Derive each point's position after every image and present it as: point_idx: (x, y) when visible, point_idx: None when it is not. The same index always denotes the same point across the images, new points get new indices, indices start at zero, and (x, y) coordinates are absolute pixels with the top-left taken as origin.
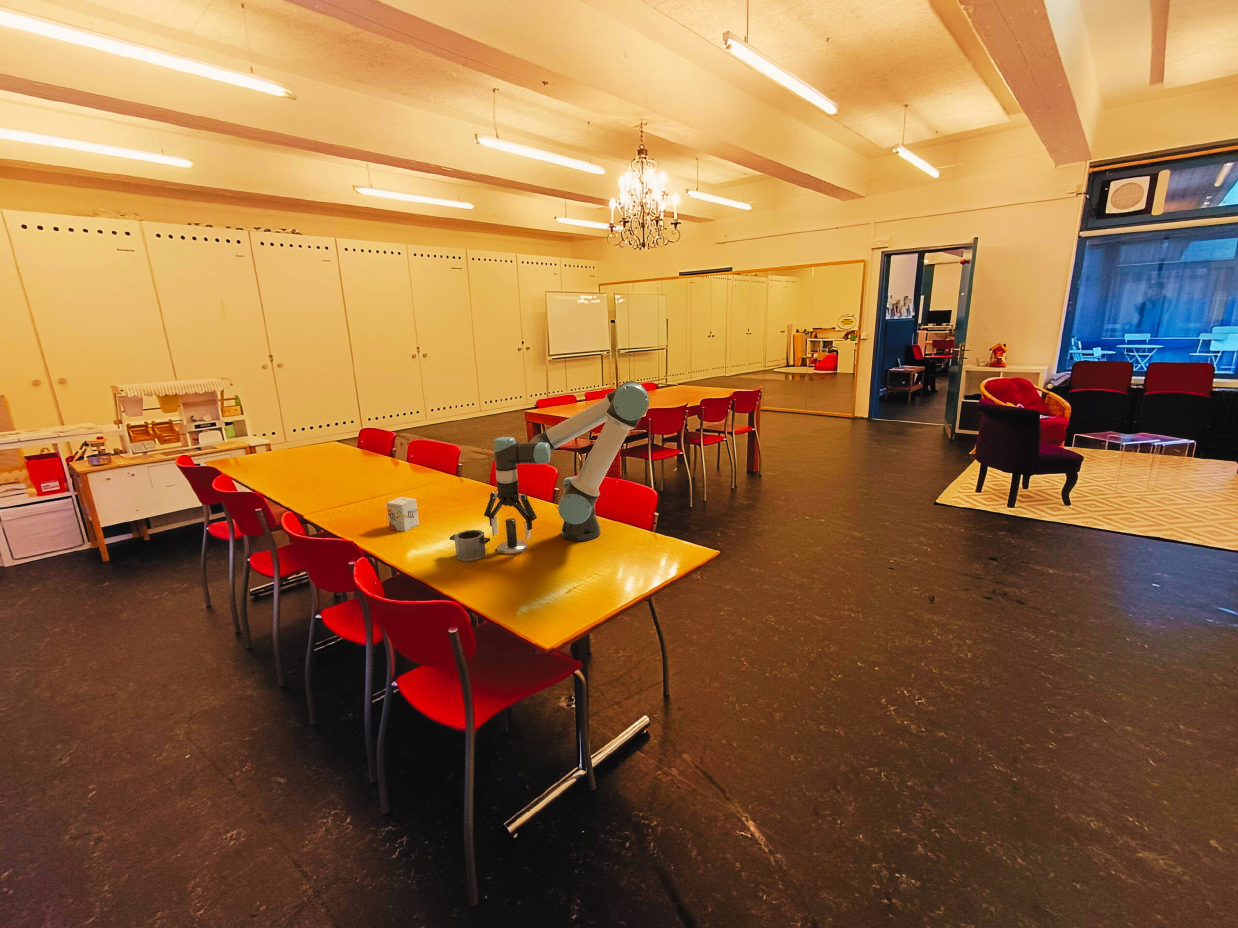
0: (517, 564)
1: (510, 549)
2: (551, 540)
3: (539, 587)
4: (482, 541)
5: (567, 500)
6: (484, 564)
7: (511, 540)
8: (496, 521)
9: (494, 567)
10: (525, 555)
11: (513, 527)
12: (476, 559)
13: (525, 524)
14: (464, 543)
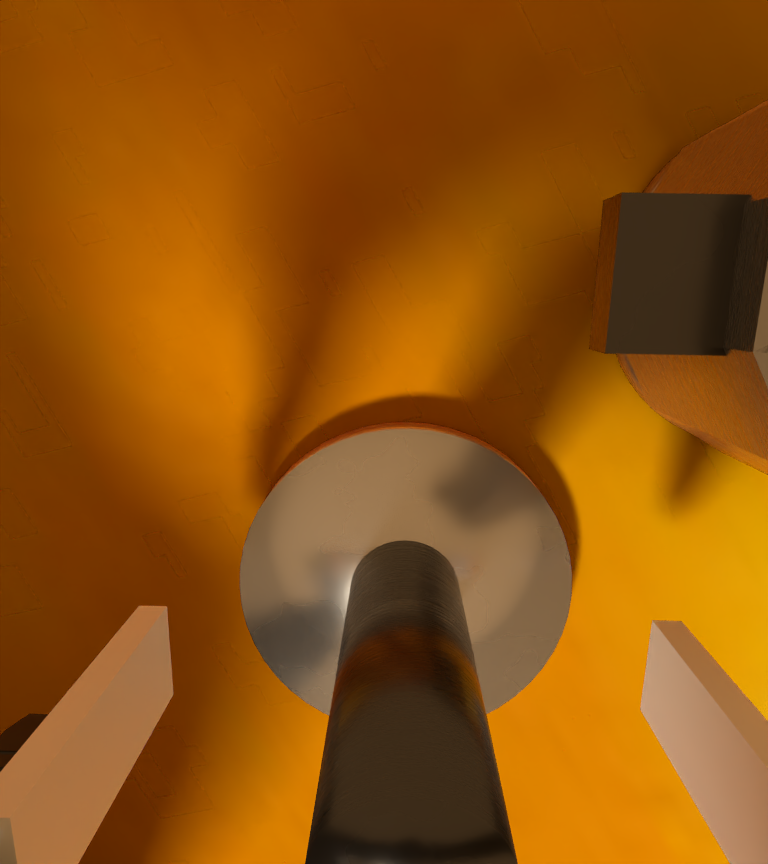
0: (127, 200)
1: (373, 494)
2: (132, 822)
3: None
4: (676, 198)
5: None
6: (499, 96)
7: (379, 584)
8: (745, 861)
9: (337, 45)
10: (177, 444)
11: (332, 731)
12: (655, 180)
13: (17, 773)
14: None
